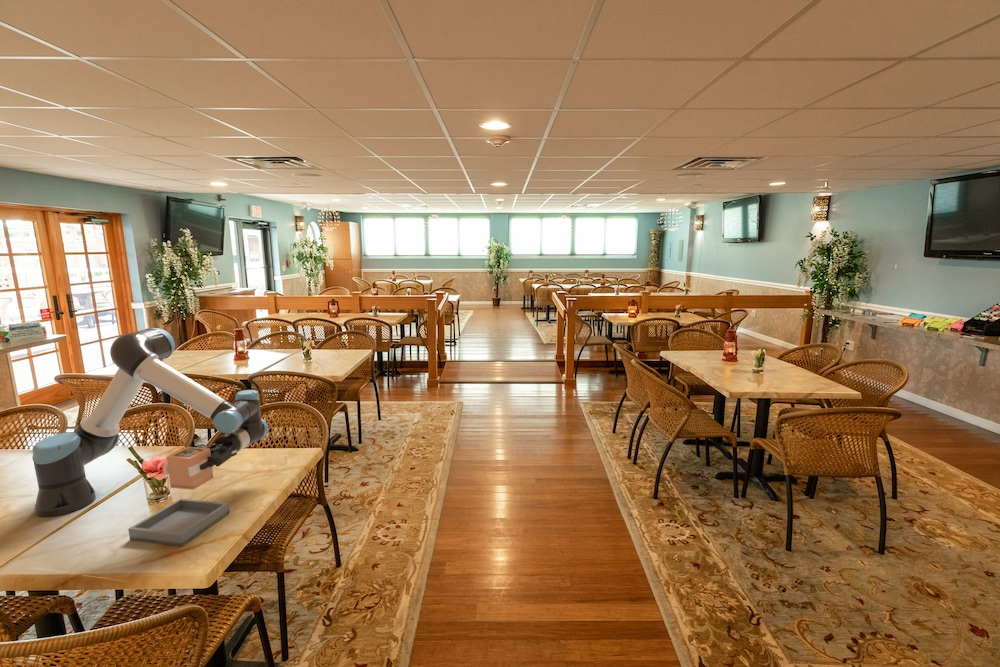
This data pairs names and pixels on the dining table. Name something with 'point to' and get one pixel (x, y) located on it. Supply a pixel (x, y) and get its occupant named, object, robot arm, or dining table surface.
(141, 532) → the slate dish
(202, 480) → the peach box
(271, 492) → the dining table surface
